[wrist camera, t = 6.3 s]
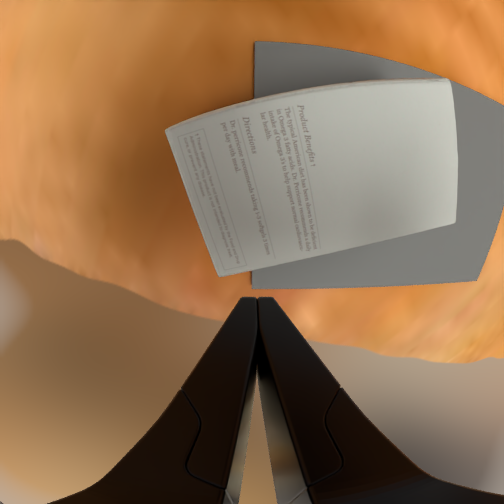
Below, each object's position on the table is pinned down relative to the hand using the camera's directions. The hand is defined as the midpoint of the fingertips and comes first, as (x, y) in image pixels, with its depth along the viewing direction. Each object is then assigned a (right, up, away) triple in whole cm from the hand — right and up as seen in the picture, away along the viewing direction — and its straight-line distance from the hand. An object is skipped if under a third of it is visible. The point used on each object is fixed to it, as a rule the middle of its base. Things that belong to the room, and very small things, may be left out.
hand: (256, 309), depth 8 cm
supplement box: (-3, +5, +7) cm, 9 cm away
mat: (+12, +7, +11) cm, 18 cm away
